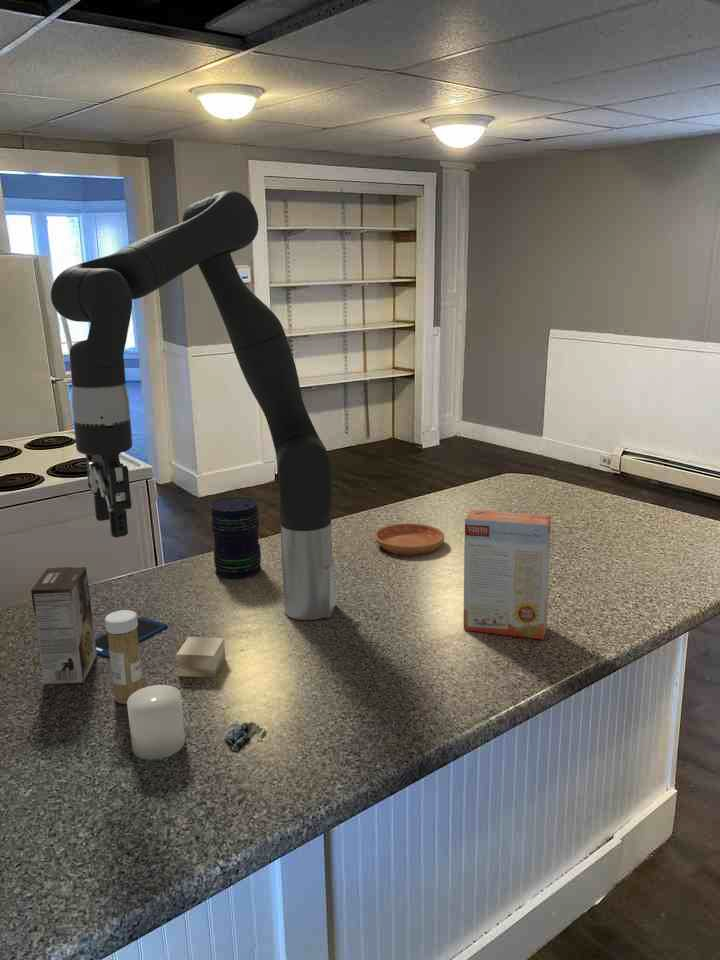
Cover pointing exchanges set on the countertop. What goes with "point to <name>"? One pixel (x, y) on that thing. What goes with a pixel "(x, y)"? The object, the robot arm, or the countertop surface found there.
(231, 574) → the storage jar
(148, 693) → the cream canister
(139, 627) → the cell phone
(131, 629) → the sprinkles bottle
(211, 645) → the maple block
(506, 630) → the cracker box
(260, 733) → the blueberries
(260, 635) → the countertop surface
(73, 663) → the coffee box
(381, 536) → the saucer
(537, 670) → the countertop surface
